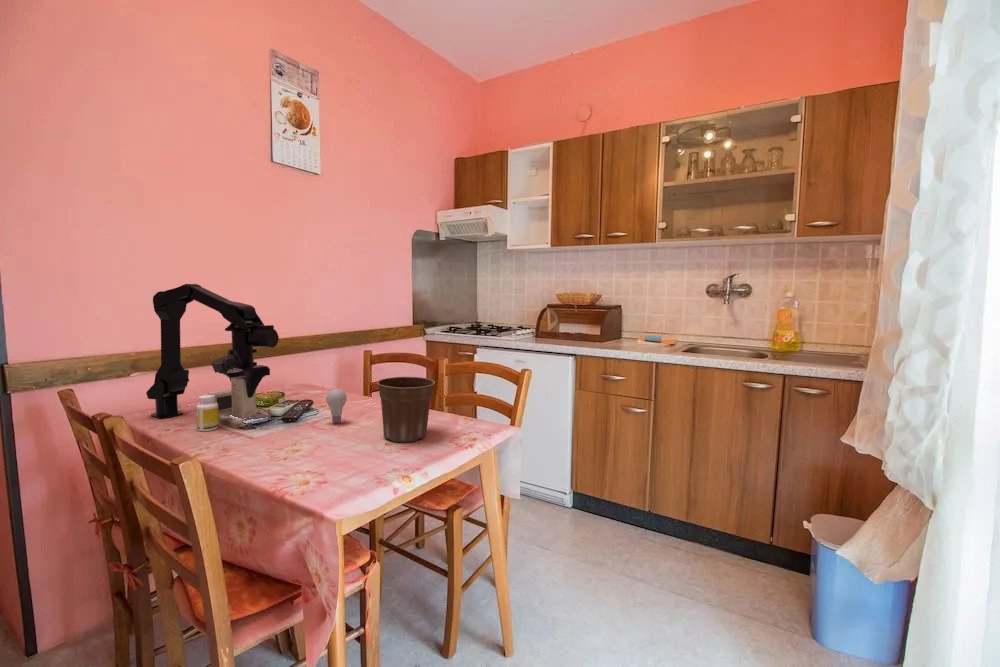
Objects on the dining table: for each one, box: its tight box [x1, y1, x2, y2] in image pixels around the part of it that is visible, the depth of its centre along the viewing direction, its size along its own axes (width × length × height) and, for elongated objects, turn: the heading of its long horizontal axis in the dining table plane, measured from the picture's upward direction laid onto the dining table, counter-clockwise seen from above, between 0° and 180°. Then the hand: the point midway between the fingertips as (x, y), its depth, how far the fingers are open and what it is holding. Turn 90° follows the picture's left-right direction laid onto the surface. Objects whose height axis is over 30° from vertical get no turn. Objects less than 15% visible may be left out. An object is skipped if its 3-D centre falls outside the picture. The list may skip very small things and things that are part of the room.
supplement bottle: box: [196, 394, 220, 432], centre depth 131 cm, size 5×5×10 cm
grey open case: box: [196, 389, 272, 429], centre depth 142 cm, size 23×11×8 cm, turn 60°
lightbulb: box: [325, 388, 348, 424], centre depth 139 cm, size 6×6×11 cm
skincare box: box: [230, 376, 257, 419], centre depth 138 cm, size 6×4×12 cm
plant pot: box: [376, 376, 436, 443], centre depth 129 cm, size 16×16×16 cm
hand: (243, 396), depth 138 cm, fingers open, 6 cm apart
